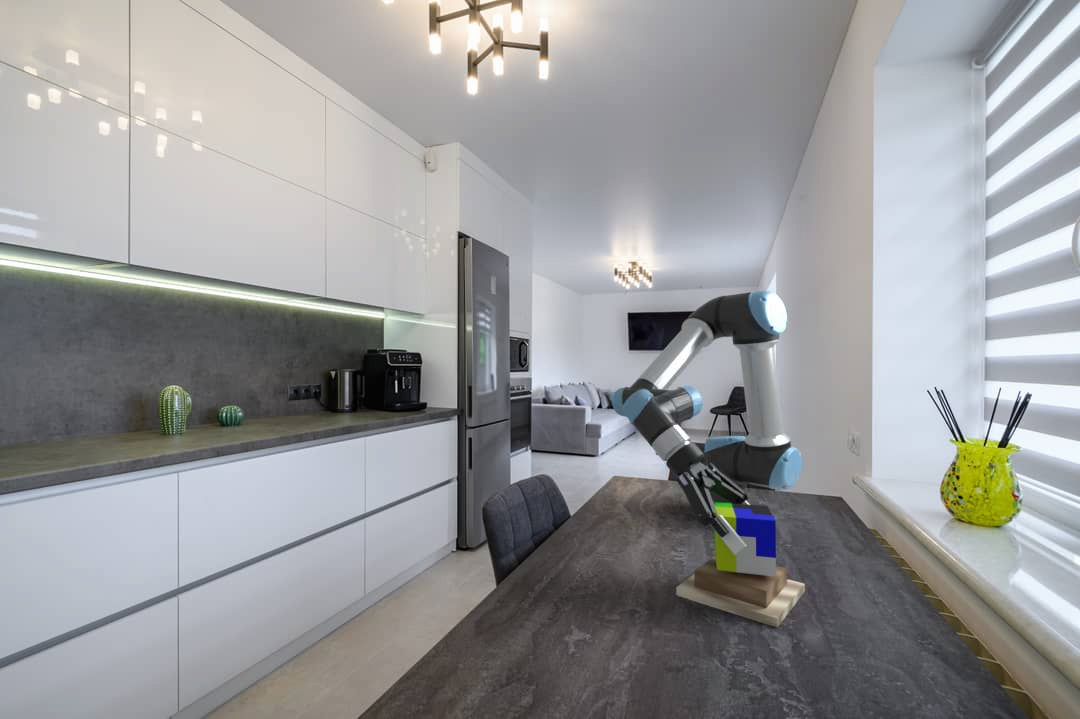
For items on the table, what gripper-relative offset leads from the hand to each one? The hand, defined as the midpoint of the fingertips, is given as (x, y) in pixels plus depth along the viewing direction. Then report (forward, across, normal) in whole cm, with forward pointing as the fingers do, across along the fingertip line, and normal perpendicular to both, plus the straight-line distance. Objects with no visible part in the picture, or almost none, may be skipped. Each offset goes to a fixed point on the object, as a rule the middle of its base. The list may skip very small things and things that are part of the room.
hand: (753, 540), depth 94 cm
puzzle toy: (+2, 0, -5) cm, 5 cm away
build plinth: (+6, 0, -9) cm, 11 cm away
